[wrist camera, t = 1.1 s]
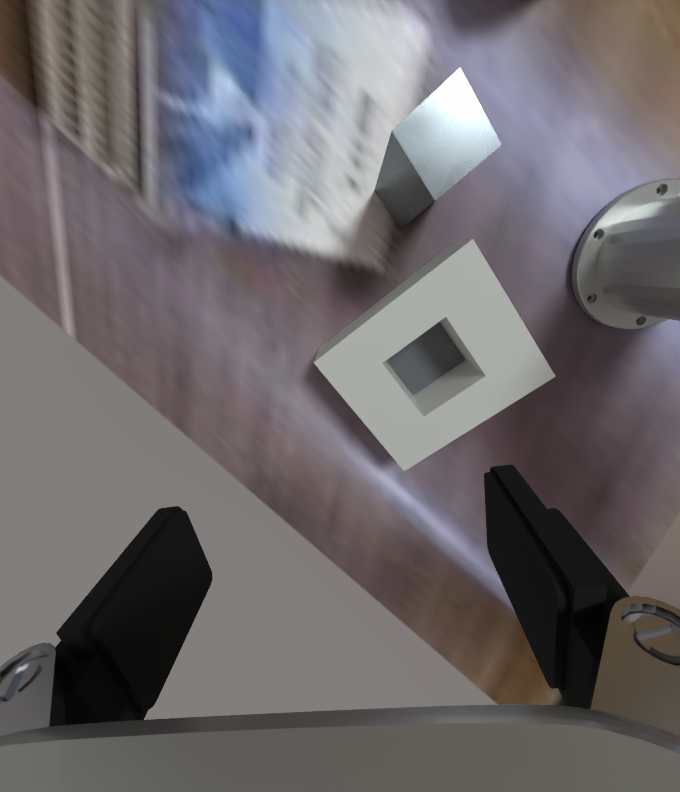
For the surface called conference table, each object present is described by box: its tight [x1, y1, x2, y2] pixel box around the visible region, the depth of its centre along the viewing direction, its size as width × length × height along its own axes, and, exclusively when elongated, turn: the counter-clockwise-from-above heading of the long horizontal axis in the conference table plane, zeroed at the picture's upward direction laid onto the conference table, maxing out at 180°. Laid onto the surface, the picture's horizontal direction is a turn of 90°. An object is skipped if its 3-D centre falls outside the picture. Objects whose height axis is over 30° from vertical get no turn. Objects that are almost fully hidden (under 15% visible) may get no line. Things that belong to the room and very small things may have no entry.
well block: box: [314, 239, 556, 471], centre depth 33 cm, size 16×14×6 cm
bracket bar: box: [375, 68, 501, 229], centre depth 24 cm, size 4×4×14 cm
